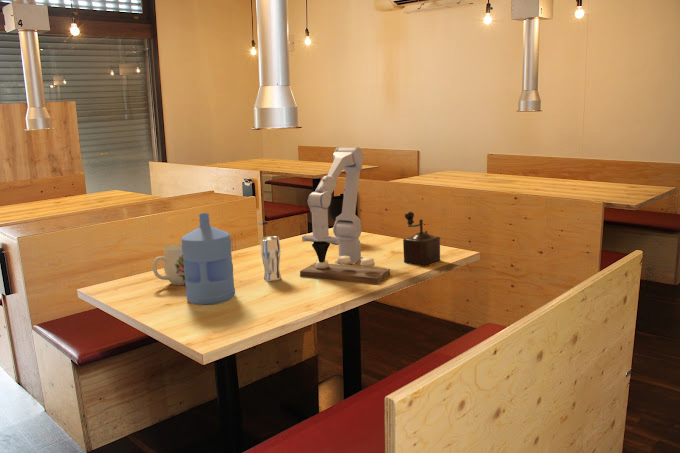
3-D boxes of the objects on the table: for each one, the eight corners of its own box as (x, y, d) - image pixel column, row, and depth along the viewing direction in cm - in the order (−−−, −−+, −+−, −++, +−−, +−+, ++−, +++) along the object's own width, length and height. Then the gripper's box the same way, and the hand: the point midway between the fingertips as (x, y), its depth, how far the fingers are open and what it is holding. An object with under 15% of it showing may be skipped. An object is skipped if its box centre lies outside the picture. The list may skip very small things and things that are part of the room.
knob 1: (319, 264, 228) (319, 259, 227) (331, 265, 226) (331, 260, 225) (313, 268, 223) (312, 262, 223) (325, 269, 221) (325, 263, 221)
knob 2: (341, 260, 223) (340, 255, 223) (353, 261, 221) (353, 256, 221) (335, 263, 219) (334, 258, 219) (347, 265, 217) (347, 259, 216)
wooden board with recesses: (315, 267, 233) (315, 262, 232) (390, 274, 220) (389, 269, 219) (300, 276, 222) (299, 270, 222) (377, 284, 209) (377, 278, 209)
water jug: (193, 291, 210) (186, 210, 204) (239, 289, 209) (233, 208, 204) (180, 306, 195) (172, 219, 189) (230, 305, 194) (222, 217, 188)
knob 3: (363, 262, 219) (363, 256, 219) (376, 263, 217) (376, 258, 217) (358, 266, 215) (357, 260, 215) (371, 267, 213) (371, 261, 212)
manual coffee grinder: (442, 260, 236) (441, 214, 232) (425, 266, 228) (424, 219, 224) (409, 254, 246) (408, 210, 242) (392, 260, 238) (391, 215, 234)
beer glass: (279, 282, 216) (276, 240, 213) (260, 281, 218) (257, 240, 215) (284, 276, 223) (282, 235, 220) (266, 276, 225) (263, 235, 221)
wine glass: (327, 244, 269) (325, 199, 264) (331, 239, 279) (329, 195, 275) (351, 244, 267) (349, 199, 263) (354, 239, 277) (353, 195, 273)
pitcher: (148, 285, 219) (144, 248, 216) (193, 274, 230) (190, 239, 227) (162, 292, 211) (158, 253, 208) (208, 280, 222) (205, 243, 219)
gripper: (297, 226, 221) (299, 262, 224) (333, 228, 215) (335, 266, 217) (306, 222, 227) (308, 258, 230) (342, 224, 221) (343, 261, 224)
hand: (322, 261), depth 224 cm, fingers closed, pressing on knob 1
